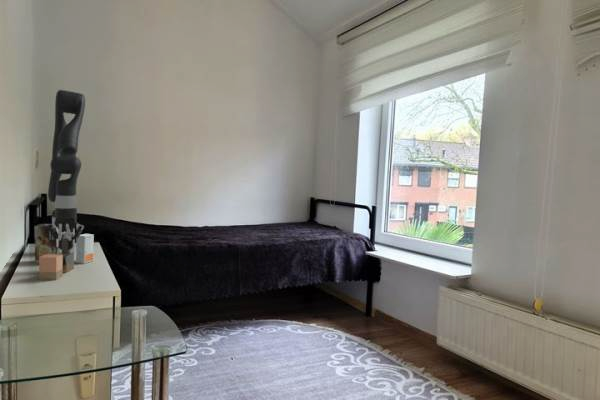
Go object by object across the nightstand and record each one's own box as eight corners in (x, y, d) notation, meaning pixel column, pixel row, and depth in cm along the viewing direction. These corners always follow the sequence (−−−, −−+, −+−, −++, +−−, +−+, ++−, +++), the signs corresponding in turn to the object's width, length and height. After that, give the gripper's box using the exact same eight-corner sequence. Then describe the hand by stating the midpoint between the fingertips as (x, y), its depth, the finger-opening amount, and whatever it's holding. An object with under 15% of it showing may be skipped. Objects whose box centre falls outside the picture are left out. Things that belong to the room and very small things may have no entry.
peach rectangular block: (45, 276, 165) (45, 254, 164) (62, 276, 166) (62, 254, 165) (39, 279, 160) (39, 257, 159) (56, 280, 161) (56, 257, 160)
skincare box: (84, 264, 185) (84, 236, 184) (75, 263, 186) (75, 235, 185) (94, 261, 191) (94, 234, 190) (85, 260, 192) (85, 233, 191)
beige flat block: (65, 258, 177) (65, 237, 176) (71, 258, 177) (72, 237, 177) (51, 265, 165) (51, 243, 165) (58, 265, 166) (58, 243, 165)
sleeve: (62, 268, 177) (62, 252, 176) (73, 268, 177) (73, 252, 177) (54, 272, 170) (54, 256, 169) (66, 272, 170) (66, 256, 170)
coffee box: (63, 260, 189) (63, 224, 188) (56, 264, 183) (56, 226, 181) (41, 260, 188) (41, 223, 187) (33, 263, 182) (33, 225, 180)
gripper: (43, 206, 169) (43, 250, 170) (80, 208, 170) (80, 251, 171) (52, 204, 176) (52, 246, 178) (87, 206, 177) (87, 247, 179)
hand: (66, 249), depth 174 cm, fingers closed on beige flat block, 2 cm apart
